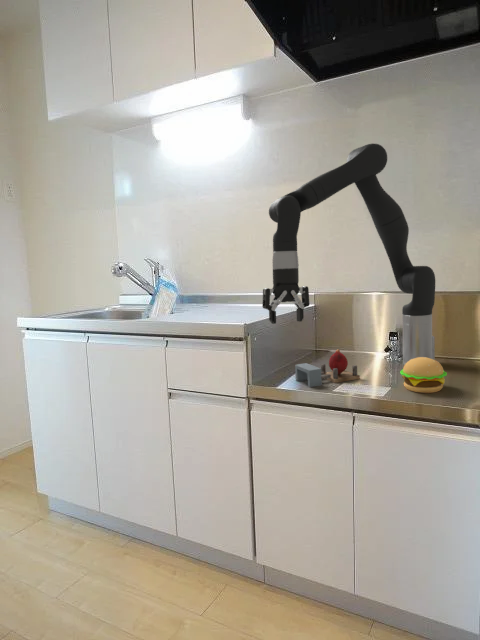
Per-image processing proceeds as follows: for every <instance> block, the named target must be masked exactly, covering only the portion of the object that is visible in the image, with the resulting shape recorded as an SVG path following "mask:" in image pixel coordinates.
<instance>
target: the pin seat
mask: <svg viewBox="0 0 480 640" xmlns="http://www.w3.org/2000/svg"><path fill="white" fill-rule="evenodd" d="M351 368H352V372H351V371H348V370H346V369H345V370H344V371H343V372H342V373H341V374H339V375H338V369H337V368H334V369H333V371H332V370H331V371H327V370H326V363H321V364H320V369H321V379H322V380H327V381H328V382H329V381H330V382H332V383H334V384H335V383H337V384H338V383H342V382H348V381H355V380H360V378H361V375H359V374H358V365H355V364H354V365H352V367H351ZM326 371H327V372H326Z"/></svg>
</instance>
